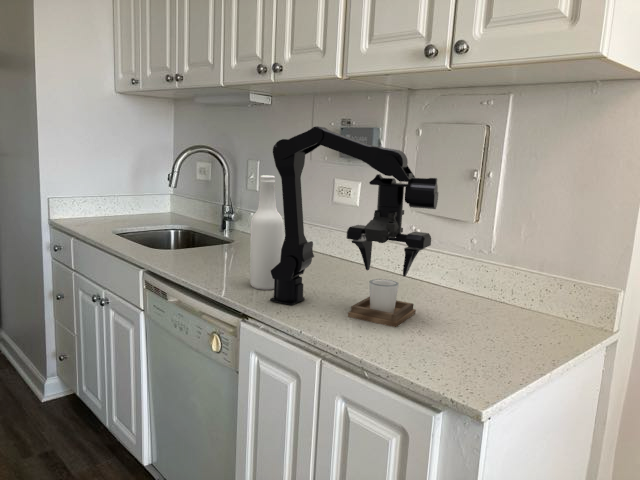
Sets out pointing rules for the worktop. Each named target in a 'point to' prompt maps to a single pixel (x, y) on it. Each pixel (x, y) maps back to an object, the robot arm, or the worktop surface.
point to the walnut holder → (382, 313)
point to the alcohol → (265, 237)
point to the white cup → (383, 294)
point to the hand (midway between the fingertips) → (385, 273)
